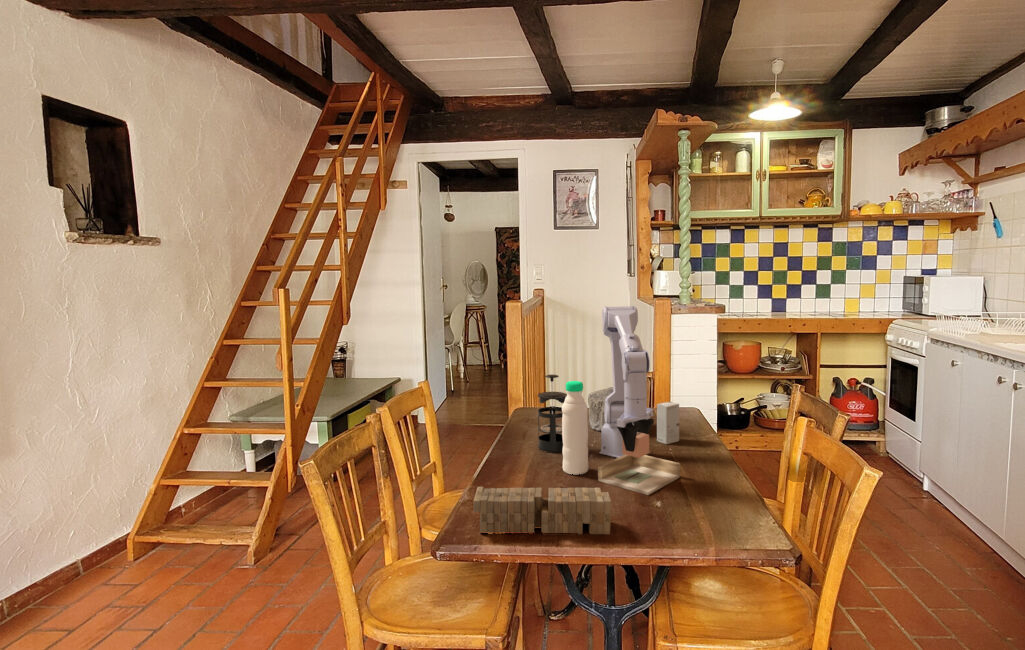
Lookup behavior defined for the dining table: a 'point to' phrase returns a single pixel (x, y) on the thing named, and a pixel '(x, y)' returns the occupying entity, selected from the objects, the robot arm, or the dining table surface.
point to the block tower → (543, 510)
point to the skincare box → (667, 422)
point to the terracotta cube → (638, 446)
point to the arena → (639, 473)
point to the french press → (551, 421)
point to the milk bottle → (575, 430)
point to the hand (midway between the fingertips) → (635, 448)
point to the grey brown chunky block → (598, 407)
